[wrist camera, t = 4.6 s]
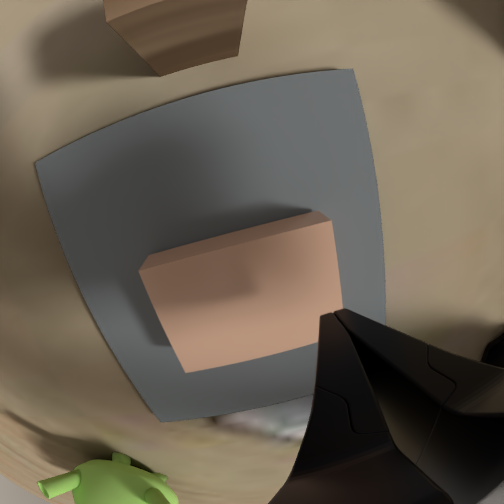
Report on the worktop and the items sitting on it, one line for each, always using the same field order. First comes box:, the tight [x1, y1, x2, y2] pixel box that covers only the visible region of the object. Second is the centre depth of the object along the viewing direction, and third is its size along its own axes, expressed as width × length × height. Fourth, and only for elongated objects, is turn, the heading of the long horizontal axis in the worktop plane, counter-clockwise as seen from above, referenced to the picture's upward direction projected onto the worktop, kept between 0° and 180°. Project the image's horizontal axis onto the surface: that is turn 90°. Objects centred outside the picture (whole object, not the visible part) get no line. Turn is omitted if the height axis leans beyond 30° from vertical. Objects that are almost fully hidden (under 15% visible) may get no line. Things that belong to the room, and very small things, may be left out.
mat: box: [35, 69, 386, 422], centre depth 13 cm, size 16×14×1 cm
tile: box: [139, 211, 343, 373], centre depth 12 cm, size 5×2×7 cm
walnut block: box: [103, 0, 247, 77], centre depth 6 cm, size 3×3×6 cm
